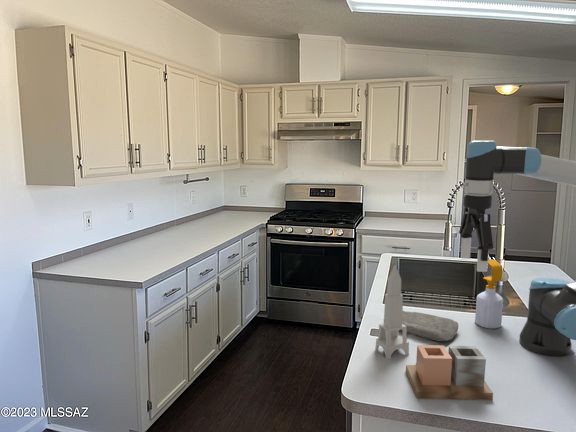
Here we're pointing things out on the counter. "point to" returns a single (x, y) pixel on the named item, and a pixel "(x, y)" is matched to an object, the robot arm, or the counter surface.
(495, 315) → the spray bottle
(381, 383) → the counter surface
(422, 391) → the pin board
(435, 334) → the stone
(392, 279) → the sculpture
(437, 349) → the orange hollow cube
